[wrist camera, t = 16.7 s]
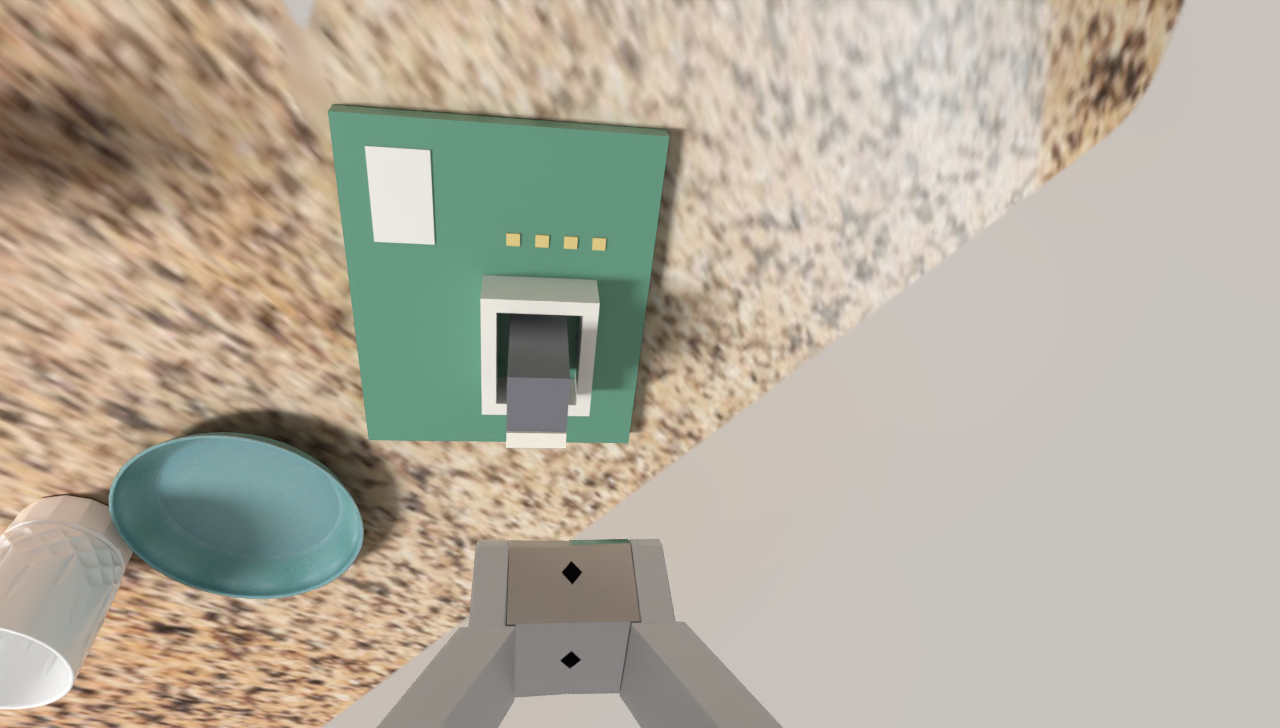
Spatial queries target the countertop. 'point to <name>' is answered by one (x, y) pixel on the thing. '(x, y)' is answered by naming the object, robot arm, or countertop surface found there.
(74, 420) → the countertop surface
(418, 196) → the board
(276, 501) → the saucer
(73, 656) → the white cup
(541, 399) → the plug
